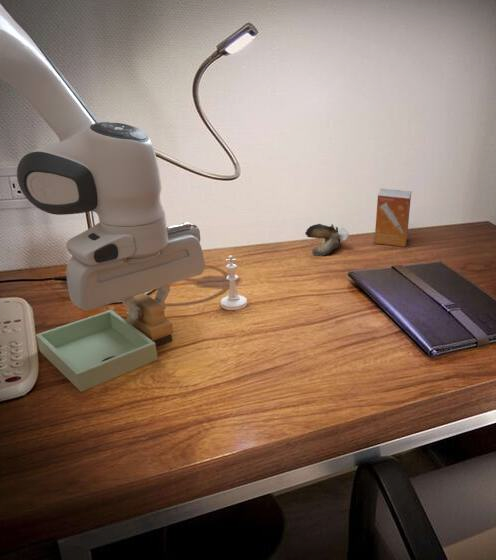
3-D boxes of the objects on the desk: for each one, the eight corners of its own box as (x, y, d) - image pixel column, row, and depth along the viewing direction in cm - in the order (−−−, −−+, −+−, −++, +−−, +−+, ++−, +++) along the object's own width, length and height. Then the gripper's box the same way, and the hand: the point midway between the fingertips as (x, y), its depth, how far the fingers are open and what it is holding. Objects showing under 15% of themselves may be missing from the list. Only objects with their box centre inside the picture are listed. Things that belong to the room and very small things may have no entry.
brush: (128, 330, 88) (123, 295, 85) (149, 322, 91) (144, 289, 88) (153, 349, 84) (148, 313, 81) (174, 341, 87) (170, 306, 84)
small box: (374, 244, 133) (377, 194, 127) (377, 235, 139) (379, 187, 133) (405, 247, 133) (410, 198, 127) (407, 238, 139) (411, 190, 133)
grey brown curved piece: (323, 234, 133) (298, 237, 126) (338, 215, 130) (314, 217, 122) (340, 257, 131) (316, 261, 124) (356, 238, 128) (332, 242, 120)
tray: (40, 355, 81) (35, 334, 80) (114, 328, 90) (111, 309, 88) (82, 396, 74) (76, 374, 72) (158, 363, 82) (155, 342, 80)
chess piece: (248, 308, 99) (246, 260, 95) (221, 311, 98) (217, 262, 93) (246, 296, 103) (243, 250, 99) (219, 299, 102) (215, 252, 97)
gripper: (187, 214, 89) (195, 287, 95) (53, 244, 74) (72, 328, 80) (209, 225, 85) (215, 299, 92) (73, 258, 71) (91, 345, 77)
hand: (148, 313), depth 86 cm, fingers closed on brush, 2 cm apart
